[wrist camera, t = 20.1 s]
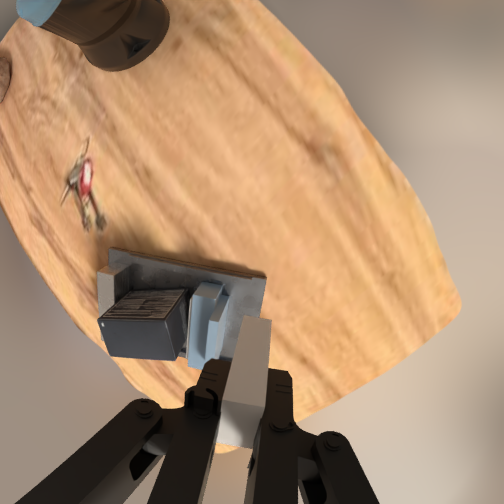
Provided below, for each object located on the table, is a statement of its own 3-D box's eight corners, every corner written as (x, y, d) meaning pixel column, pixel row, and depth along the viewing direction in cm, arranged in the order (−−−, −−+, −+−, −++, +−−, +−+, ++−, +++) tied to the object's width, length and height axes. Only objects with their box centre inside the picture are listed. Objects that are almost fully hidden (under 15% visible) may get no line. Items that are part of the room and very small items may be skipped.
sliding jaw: (199, 280, 42) (182, 303, 34) (230, 286, 42) (220, 311, 34) (193, 348, 45) (178, 377, 38) (221, 354, 45) (211, 385, 37)
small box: (138, 324, 46) (108, 358, 35) (128, 288, 44) (94, 317, 34) (197, 325, 44) (176, 364, 34) (189, 286, 43) (164, 319, 33)
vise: (111, 247, 43) (91, 257, 38) (266, 277, 42) (264, 293, 36) (114, 331, 48) (97, 348, 42) (249, 365, 47) (245, 388, 41)
